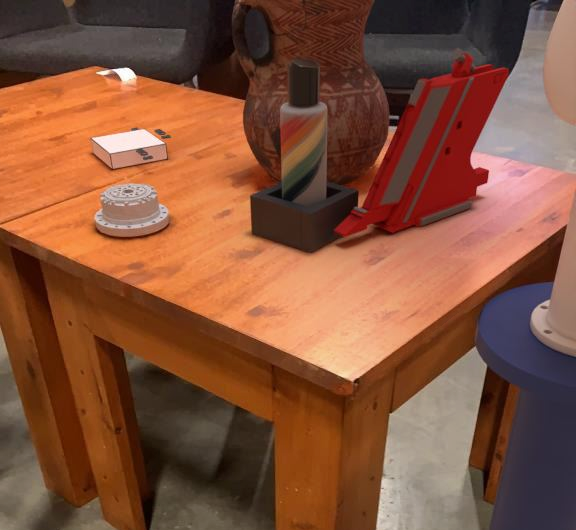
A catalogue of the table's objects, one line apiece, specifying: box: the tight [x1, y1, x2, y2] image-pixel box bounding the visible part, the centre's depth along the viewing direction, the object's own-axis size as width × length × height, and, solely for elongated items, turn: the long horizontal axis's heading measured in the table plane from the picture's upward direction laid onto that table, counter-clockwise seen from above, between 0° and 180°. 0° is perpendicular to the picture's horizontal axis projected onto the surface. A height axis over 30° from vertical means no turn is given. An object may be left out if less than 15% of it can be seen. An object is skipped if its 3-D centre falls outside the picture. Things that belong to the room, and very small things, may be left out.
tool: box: [334, 47, 510, 238], centre depth 100 cm, size 24×5×25 cm, turn 133°
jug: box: [231, 0, 390, 186], centre depth 109 cm, size 22×21×25 cm
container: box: [90, 127, 172, 171], centre depth 125 cm, size 20×12×3 cm, turn 29°
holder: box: [249, 181, 360, 253], centre depth 100 cm, size 10×10×5 cm
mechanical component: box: [93, 182, 170, 238], centre depth 103 cm, size 10×4×10 cm
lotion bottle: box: [280, 58, 327, 207], centre depth 95 cm, size 6×6×20 cm
